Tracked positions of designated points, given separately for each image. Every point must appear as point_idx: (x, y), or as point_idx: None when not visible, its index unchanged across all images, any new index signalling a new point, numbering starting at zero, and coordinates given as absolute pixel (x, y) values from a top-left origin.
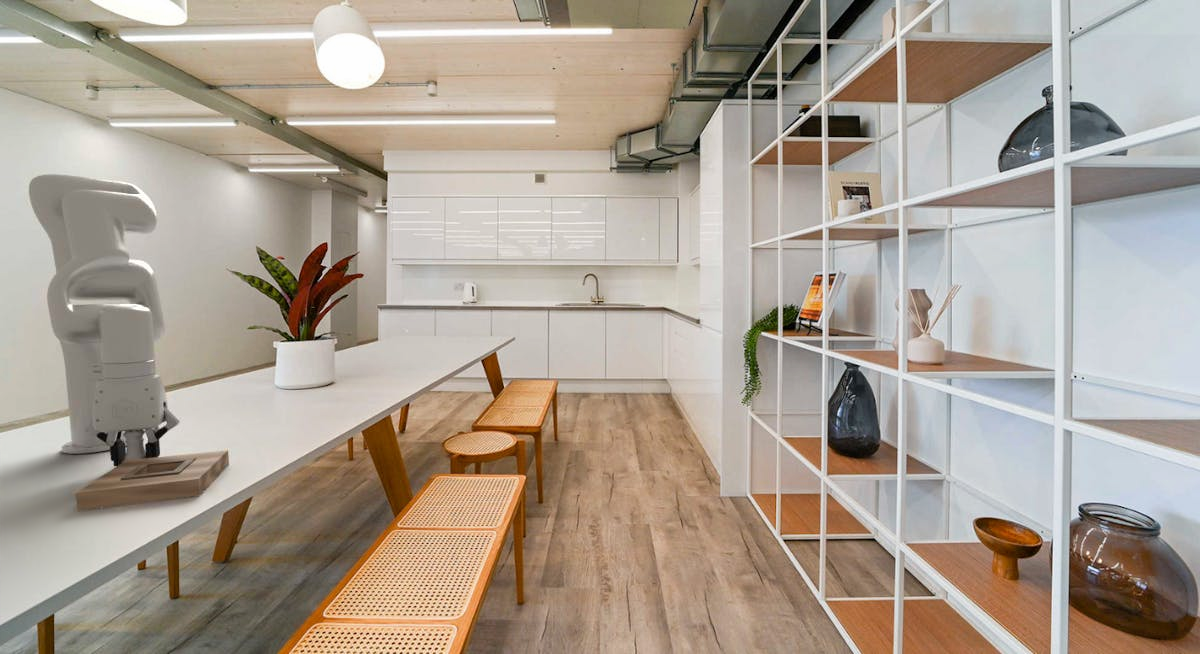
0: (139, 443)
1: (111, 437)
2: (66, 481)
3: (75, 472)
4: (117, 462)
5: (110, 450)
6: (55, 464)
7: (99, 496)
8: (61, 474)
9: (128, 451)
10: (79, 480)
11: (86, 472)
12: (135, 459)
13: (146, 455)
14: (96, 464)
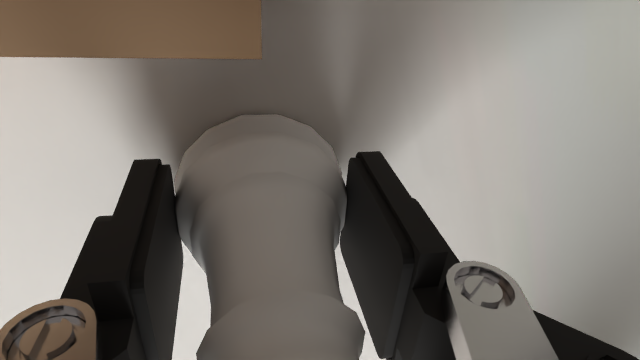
0: (224, 310)
1: (508, 349)
2: (577, 59)
3: (546, 209)
4: (363, 165)
5: (448, 248)
6: (609, 324)
7: None
8: (595, 197)
9: (307, 233)
10: (519, 49)
11: (503, 193)
12: (170, 55)
13: (155, 196)
14: None
